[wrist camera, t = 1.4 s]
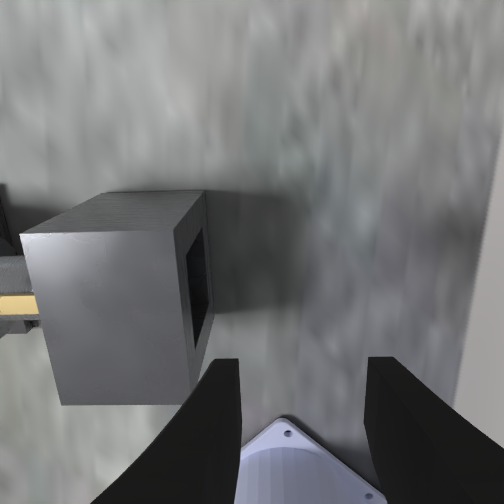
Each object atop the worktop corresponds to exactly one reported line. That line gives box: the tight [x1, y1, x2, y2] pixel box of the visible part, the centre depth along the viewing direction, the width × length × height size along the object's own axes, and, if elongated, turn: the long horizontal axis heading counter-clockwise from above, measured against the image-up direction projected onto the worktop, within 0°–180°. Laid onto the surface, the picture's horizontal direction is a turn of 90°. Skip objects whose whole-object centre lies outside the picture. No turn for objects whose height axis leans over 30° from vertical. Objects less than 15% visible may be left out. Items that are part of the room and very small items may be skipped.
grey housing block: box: [19, 190, 214, 405], centre depth 17 cm, size 5×7×7 cm
